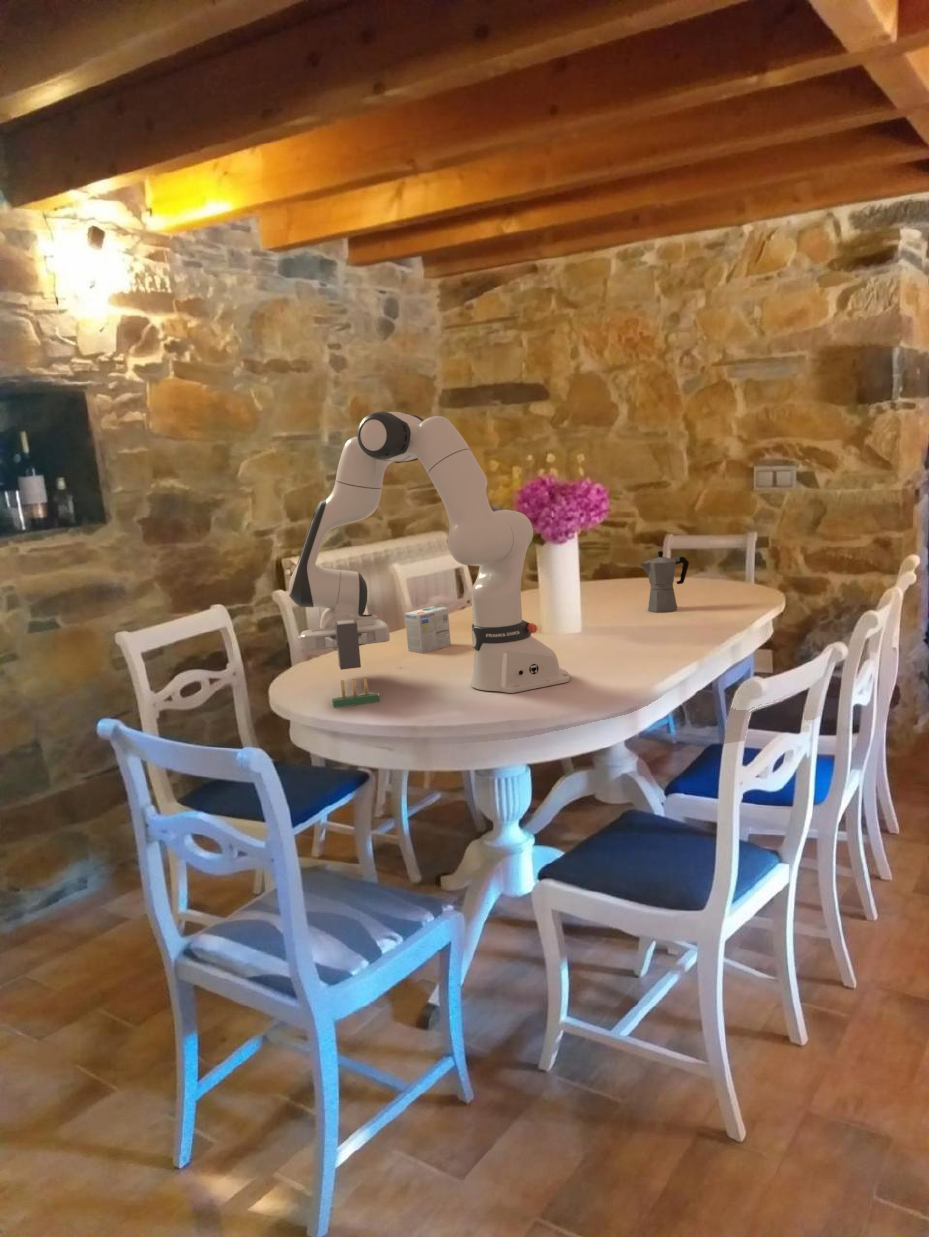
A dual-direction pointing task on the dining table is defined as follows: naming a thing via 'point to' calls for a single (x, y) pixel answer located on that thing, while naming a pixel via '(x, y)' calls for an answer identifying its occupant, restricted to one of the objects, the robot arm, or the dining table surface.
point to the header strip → (355, 696)
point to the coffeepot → (663, 582)
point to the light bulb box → (427, 629)
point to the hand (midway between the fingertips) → (348, 643)
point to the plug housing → (347, 644)
